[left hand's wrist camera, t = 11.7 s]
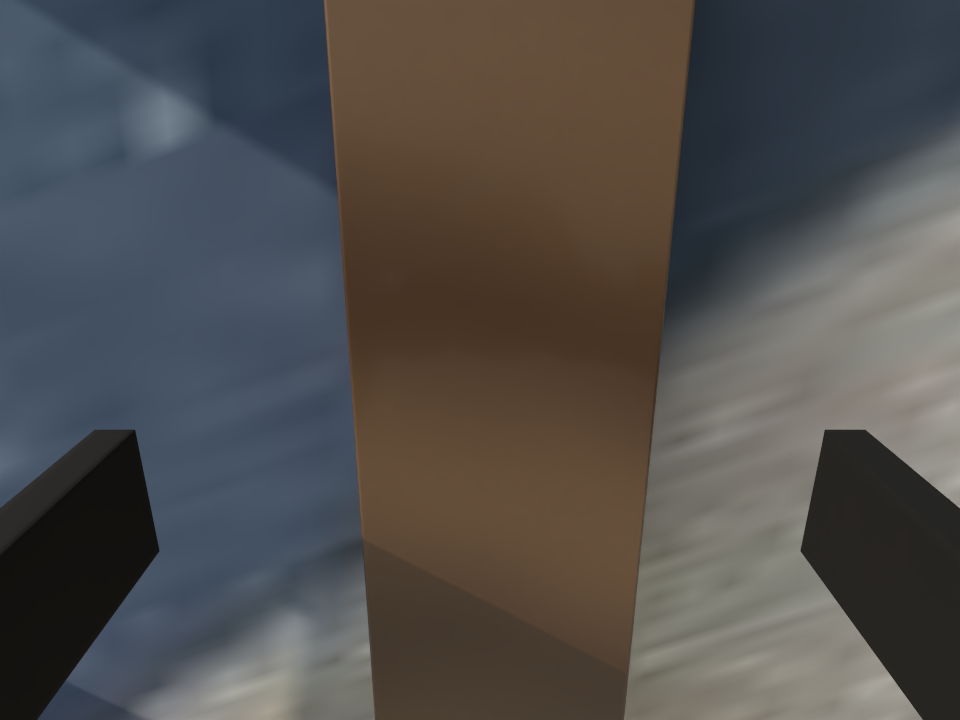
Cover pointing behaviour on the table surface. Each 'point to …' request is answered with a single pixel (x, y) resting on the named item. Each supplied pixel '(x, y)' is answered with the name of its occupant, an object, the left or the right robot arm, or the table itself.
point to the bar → (504, 336)
